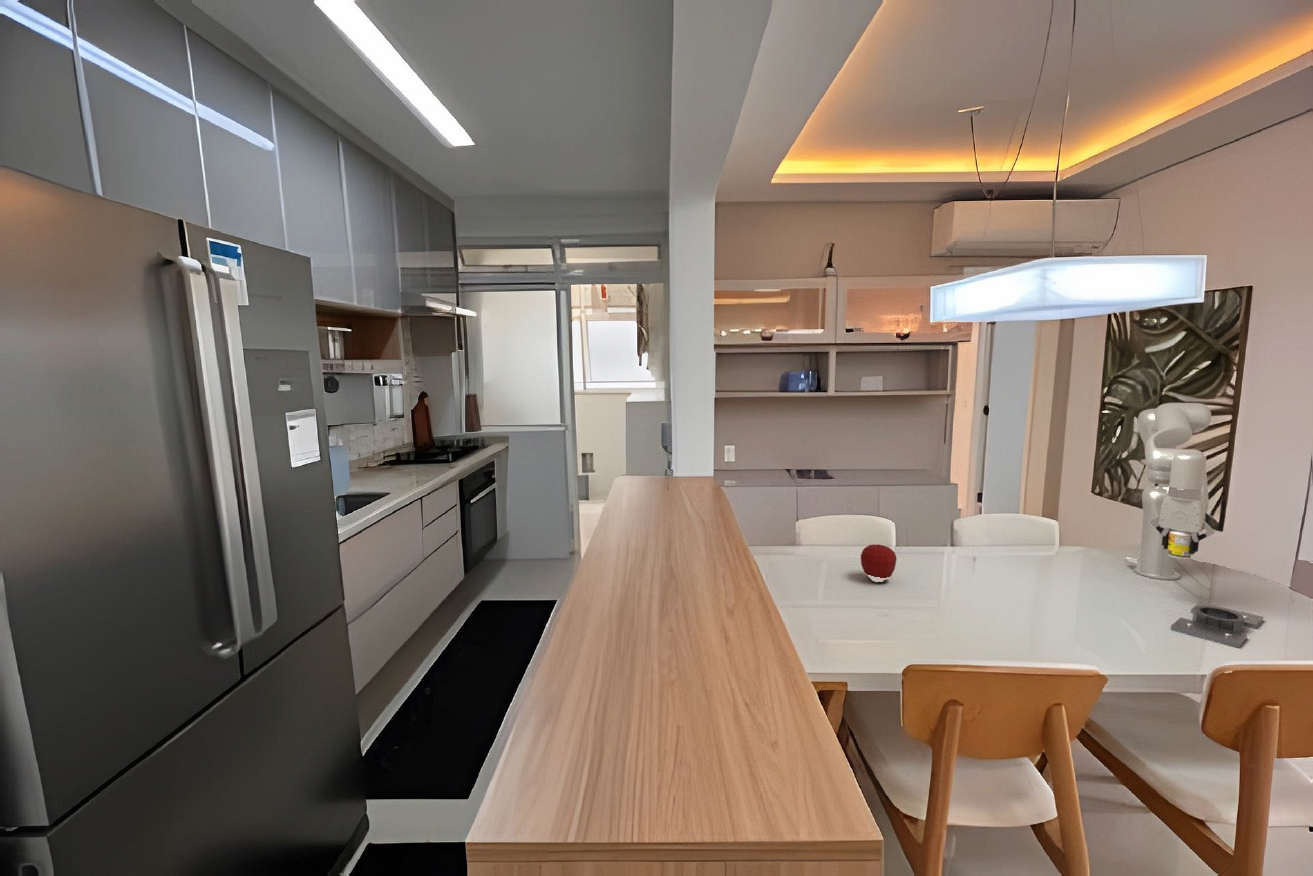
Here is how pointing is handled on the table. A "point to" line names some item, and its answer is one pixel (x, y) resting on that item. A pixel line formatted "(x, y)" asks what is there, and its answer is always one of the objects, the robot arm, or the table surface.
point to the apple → (878, 561)
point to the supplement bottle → (1179, 544)
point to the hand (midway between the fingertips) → (1179, 550)
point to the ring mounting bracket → (1218, 624)
